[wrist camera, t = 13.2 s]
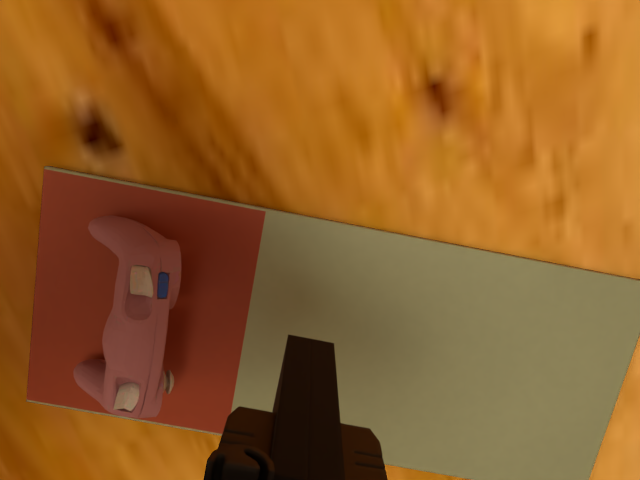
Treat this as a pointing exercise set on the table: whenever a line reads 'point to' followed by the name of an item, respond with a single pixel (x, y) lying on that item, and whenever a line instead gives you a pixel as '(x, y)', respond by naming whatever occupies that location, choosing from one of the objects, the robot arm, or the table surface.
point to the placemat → (347, 329)
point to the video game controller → (134, 320)
